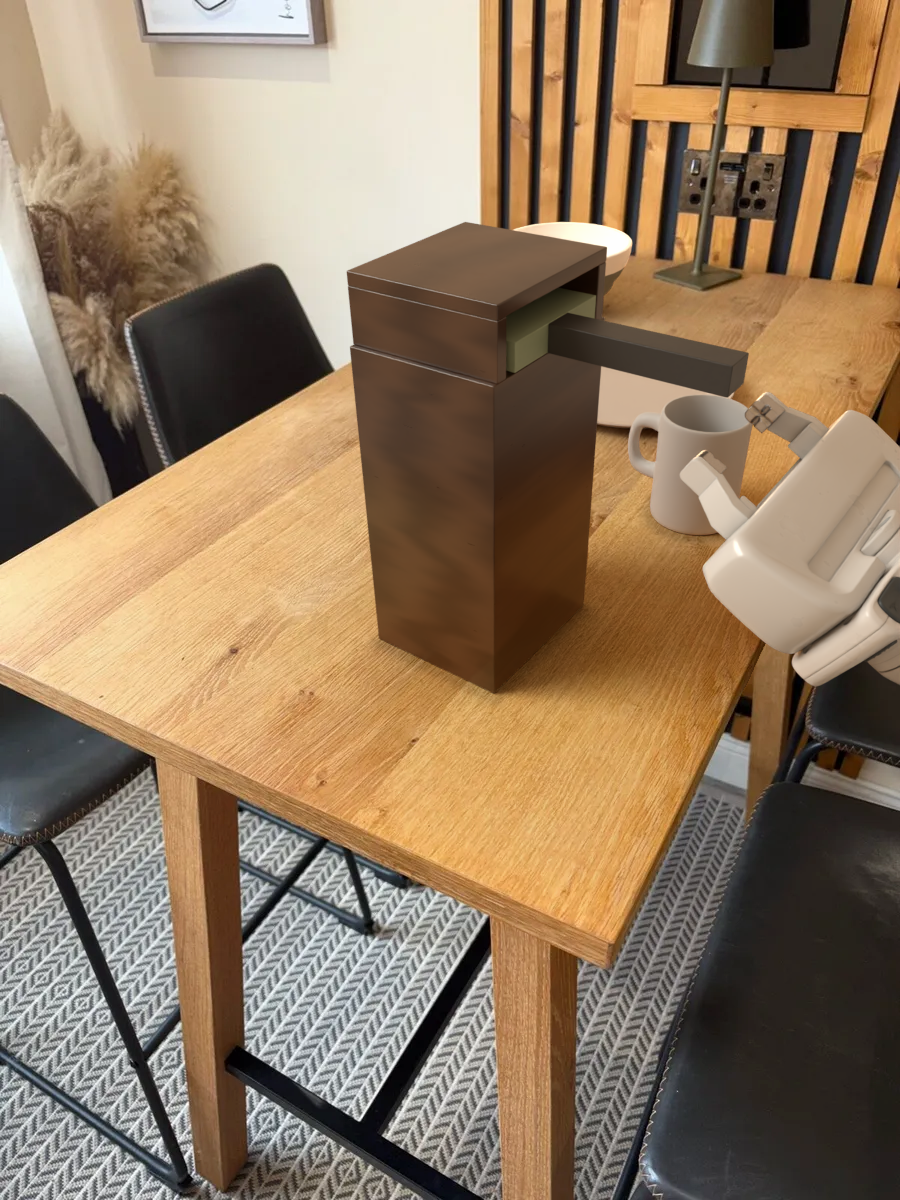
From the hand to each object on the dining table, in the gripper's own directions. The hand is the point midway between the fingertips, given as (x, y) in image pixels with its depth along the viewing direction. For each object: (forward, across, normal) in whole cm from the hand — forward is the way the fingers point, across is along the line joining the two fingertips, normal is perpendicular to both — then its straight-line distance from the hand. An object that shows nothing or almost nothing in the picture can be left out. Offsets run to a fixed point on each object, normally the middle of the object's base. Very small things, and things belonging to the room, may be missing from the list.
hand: (724, 430), depth 57 cm
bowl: (+34, -70, +47) cm, 91 cm away
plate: (+14, -48, +36) cm, 61 cm away
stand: (+4, 0, +30) cm, 30 cm away
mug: (-1, -26, +27) cm, 38 cm away
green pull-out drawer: (+10, 0, +3) cm, 11 cm away
